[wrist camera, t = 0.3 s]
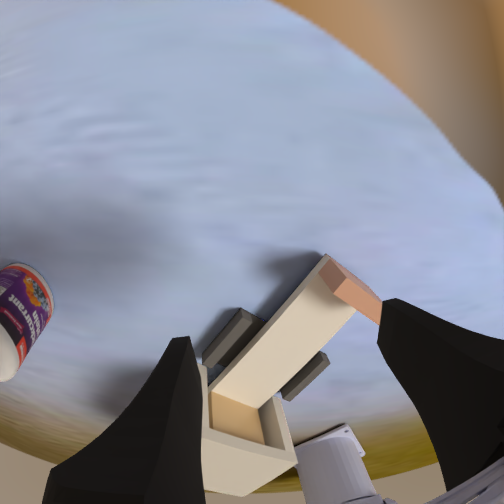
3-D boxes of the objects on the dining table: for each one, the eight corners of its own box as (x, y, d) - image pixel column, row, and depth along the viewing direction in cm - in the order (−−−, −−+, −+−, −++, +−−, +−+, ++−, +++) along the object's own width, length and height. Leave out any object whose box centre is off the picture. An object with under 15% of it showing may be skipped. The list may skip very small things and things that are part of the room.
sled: (368, 286, 22) (401, 323, 17) (209, 442, 27) (212, 484, 22) (325, 253, 21) (356, 289, 16) (167, 427, 25) (165, 471, 21)
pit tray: (325, 354, 25) (330, 363, 24) (286, 391, 26) (289, 401, 25) (240, 307, 22) (242, 317, 21) (202, 354, 23) (202, 364, 22)
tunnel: (280, 398, 26) (298, 462, 19) (234, 437, 28) (242, 496, 21) (195, 362, 23) (196, 435, 17) (156, 408, 25) (149, 473, 18)
